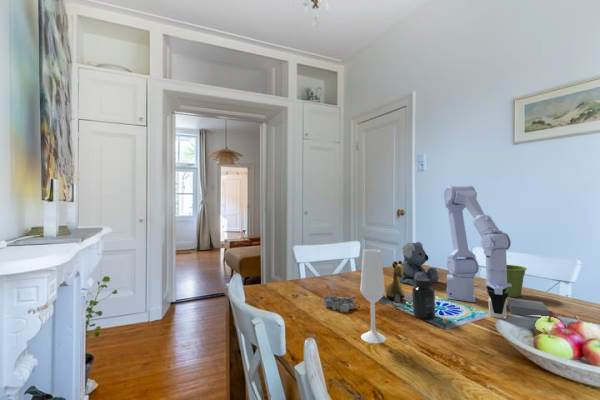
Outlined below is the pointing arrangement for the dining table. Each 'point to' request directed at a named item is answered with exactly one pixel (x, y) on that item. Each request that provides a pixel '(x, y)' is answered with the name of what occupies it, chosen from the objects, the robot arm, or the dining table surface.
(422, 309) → the supplement bottle
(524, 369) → the dining table surface
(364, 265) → the champagne flute
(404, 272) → the koala plush
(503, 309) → the cream block
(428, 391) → the dining table surface
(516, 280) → the plant pot
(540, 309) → the slate slab
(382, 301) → the stuffed giraffe
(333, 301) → the egg carton
